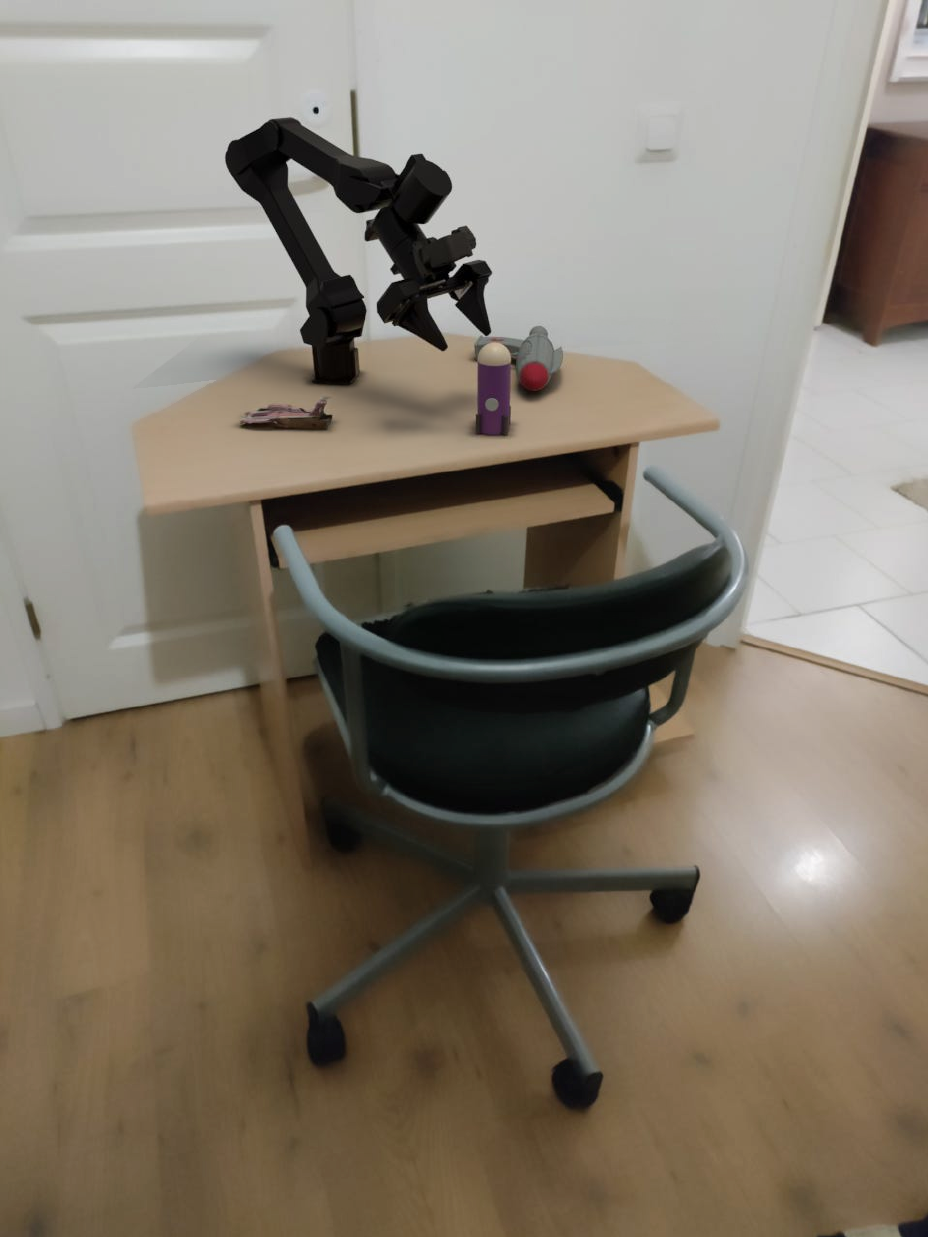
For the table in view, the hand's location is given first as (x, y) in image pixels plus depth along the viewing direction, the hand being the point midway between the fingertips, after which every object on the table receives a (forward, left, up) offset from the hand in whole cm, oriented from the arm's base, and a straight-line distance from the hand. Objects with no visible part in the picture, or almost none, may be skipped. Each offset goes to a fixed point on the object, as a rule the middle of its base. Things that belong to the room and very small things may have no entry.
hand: (467, 341), depth 125 cm
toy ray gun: (+5, +21, -12) cm, 25 cm away
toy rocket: (+4, -3, -12) cm, 13 cm away
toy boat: (-26, -5, -12) cm, 29 cm away
